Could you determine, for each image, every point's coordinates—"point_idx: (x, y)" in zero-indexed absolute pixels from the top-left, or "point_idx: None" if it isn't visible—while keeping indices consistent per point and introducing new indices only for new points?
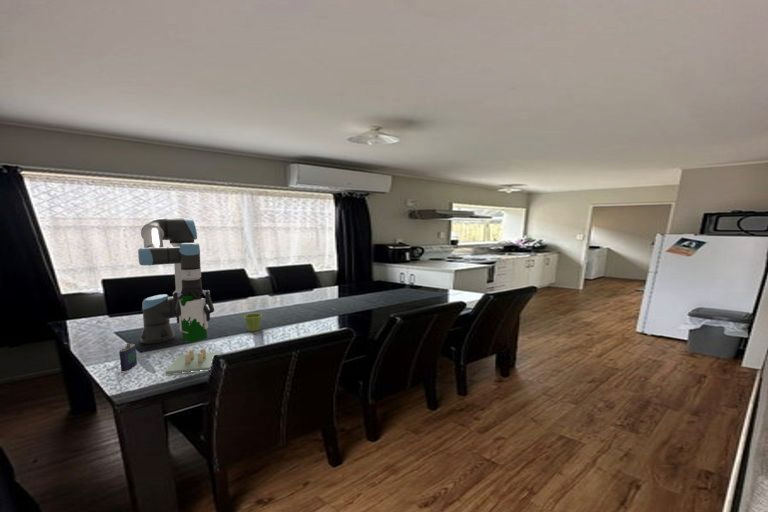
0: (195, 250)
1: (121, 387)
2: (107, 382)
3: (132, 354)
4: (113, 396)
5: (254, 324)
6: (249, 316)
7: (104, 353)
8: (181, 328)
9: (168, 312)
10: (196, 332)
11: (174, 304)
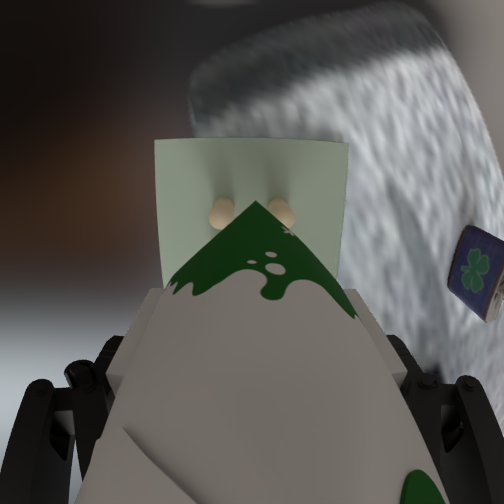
0: None
1: (444, 92)
2: (485, 153)
3: (478, 277)
4: (437, 38)
5: None
6: None
7: (494, 360)
8: (349, 299)
9: None
10: (215, 236)
11: (502, 471)
